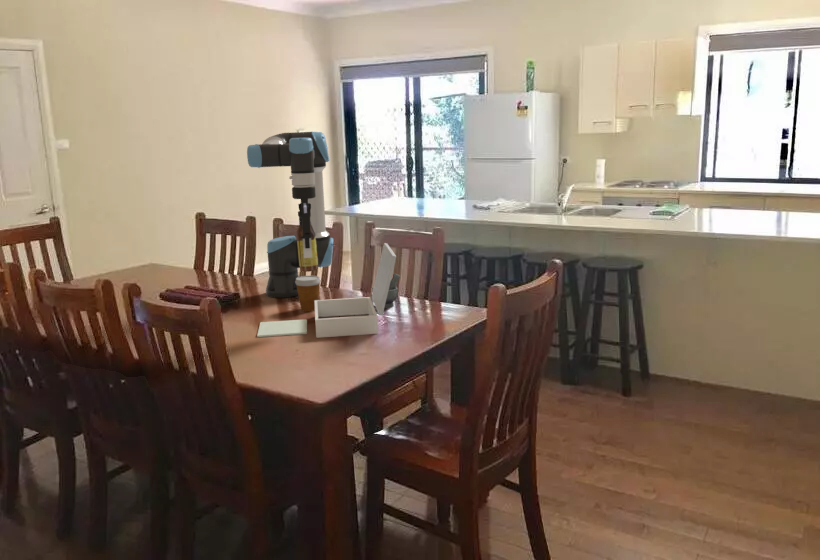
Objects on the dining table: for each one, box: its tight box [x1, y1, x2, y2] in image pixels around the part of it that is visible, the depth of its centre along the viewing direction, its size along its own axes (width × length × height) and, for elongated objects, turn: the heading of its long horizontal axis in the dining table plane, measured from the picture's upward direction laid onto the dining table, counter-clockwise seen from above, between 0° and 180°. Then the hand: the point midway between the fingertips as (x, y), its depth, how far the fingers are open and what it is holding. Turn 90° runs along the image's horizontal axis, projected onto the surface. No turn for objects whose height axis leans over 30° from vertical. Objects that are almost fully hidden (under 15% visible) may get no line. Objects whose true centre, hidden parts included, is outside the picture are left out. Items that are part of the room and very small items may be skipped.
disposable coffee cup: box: [295, 275, 322, 312], centre depth 255 cm, size 10×10×12 cm
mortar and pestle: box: [371, 273, 401, 309], centre depth 257 cm, size 11×9×12 cm
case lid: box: [371, 242, 397, 316], centre depth 233 cm, size 26×20×1 cm
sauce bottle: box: [296, 210, 319, 272], centre depth 227 cm, size 6×6×20 cm
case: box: [314, 296, 379, 339], centre depth 234 cm, size 26×20×6 cm
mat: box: [256, 318, 308, 338], centre depth 232 cm, size 16×16×1 cm
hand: (307, 255), depth 228 cm, fingers closed on sauce bottle, 6 cm apart
